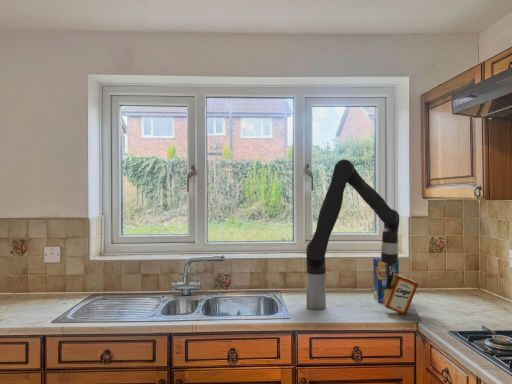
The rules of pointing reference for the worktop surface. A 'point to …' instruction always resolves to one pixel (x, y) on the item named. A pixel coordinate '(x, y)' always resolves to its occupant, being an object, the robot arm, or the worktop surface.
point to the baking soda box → (400, 294)
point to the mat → (410, 315)
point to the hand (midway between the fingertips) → (388, 288)
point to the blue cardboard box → (381, 279)
